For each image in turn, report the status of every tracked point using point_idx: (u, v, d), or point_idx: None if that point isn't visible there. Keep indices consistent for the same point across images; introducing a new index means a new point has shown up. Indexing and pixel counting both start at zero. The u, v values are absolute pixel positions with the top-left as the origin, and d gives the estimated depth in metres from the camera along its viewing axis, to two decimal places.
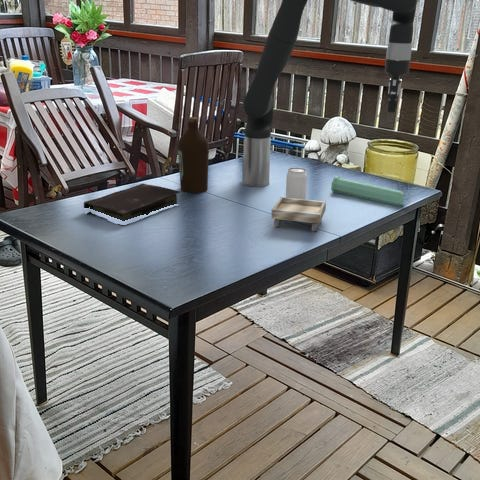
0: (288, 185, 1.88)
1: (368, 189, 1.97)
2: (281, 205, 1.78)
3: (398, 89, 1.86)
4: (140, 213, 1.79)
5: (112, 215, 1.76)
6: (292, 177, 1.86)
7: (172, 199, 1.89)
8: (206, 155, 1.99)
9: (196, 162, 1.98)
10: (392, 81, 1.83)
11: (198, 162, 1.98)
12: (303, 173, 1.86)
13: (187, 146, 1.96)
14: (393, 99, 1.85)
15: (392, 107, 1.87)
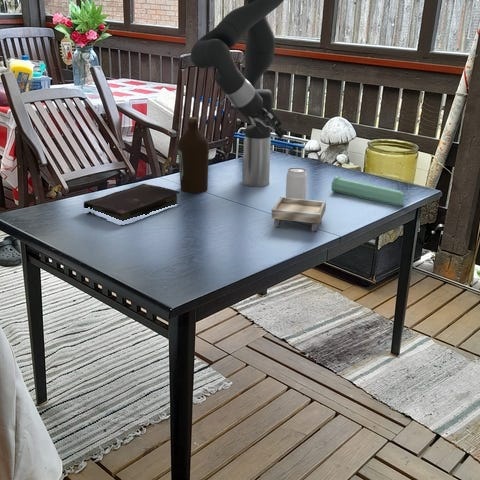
0: (288, 185, 1.88)
1: (368, 189, 1.97)
2: (281, 205, 1.78)
3: (251, 119, 1.76)
4: (139, 213, 1.79)
5: (111, 215, 1.76)
6: (292, 177, 1.86)
7: (172, 199, 1.89)
8: (206, 155, 1.99)
9: (196, 162, 1.98)
10: None
11: (198, 162, 1.98)
12: (303, 173, 1.86)
13: (187, 146, 1.96)
14: None
15: None
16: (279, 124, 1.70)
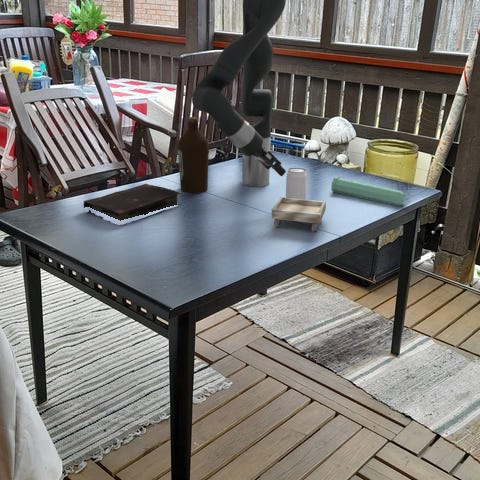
0: (288, 185, 1.88)
1: (368, 189, 1.97)
2: (281, 205, 1.78)
3: None
4: (138, 213, 1.79)
5: (110, 214, 1.77)
6: (292, 177, 1.86)
7: (172, 200, 1.88)
8: (206, 155, 1.99)
9: (196, 162, 1.98)
10: None
11: (198, 162, 1.98)
12: (303, 173, 1.86)
13: (187, 146, 1.96)
14: None
15: None
16: (278, 164, 1.76)
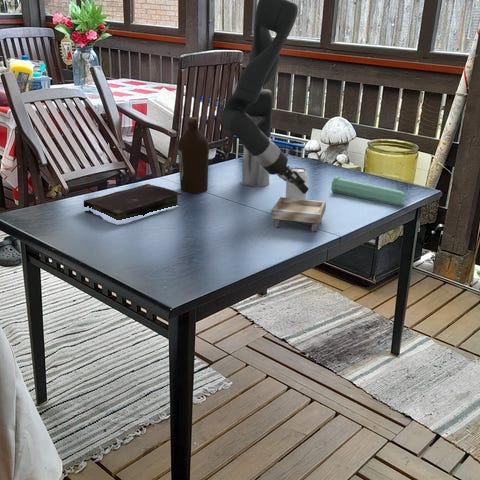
0: (288, 185, 1.88)
1: (368, 189, 1.97)
2: (281, 205, 1.78)
3: (279, 175, 1.90)
4: (137, 213, 1.79)
5: (108, 214, 1.77)
6: None
7: (172, 200, 1.88)
8: (206, 155, 1.99)
9: (196, 162, 1.98)
10: None
11: (198, 162, 1.98)
12: (303, 173, 1.86)
13: (187, 146, 1.96)
14: None
15: None
16: (302, 182, 1.83)
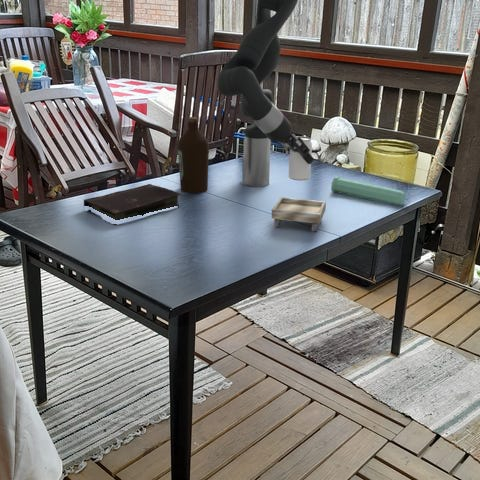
0: (292, 155, 1.74)
1: (369, 189, 1.97)
2: (281, 205, 1.78)
3: None
4: (135, 213, 1.78)
5: (107, 214, 1.77)
6: None
7: (172, 201, 1.87)
8: (206, 155, 1.99)
9: (196, 162, 1.98)
10: None
11: (198, 162, 1.98)
12: (308, 141, 1.72)
13: (187, 146, 1.96)
14: None
15: None
16: (307, 151, 1.69)
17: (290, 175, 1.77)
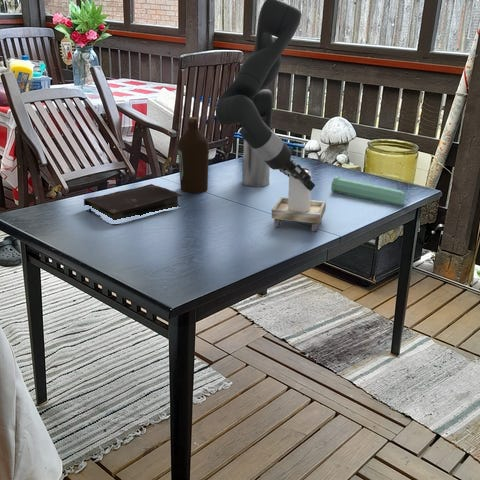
0: (291, 187, 1.71)
1: (369, 189, 1.97)
2: (281, 205, 1.78)
3: None
4: (134, 214, 1.78)
5: (105, 213, 1.77)
6: None
7: (172, 202, 1.87)
8: (206, 155, 1.99)
9: (196, 162, 1.98)
10: None
11: (198, 162, 1.98)
12: None
13: (187, 146, 1.96)
14: None
15: None
16: (308, 178, 1.64)
17: (290, 207, 1.73)
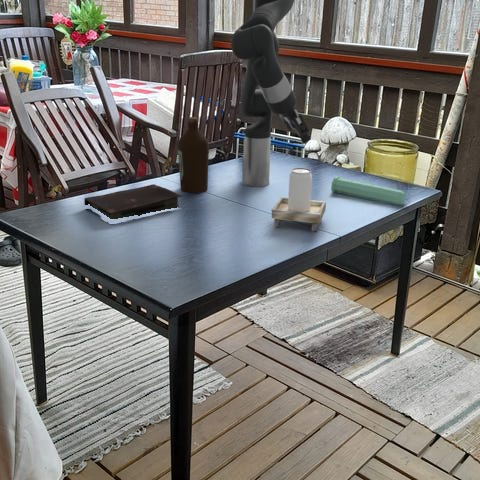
0: (291, 187, 1.71)
1: (369, 189, 1.97)
2: (281, 205, 1.78)
3: None
4: (132, 214, 1.78)
5: (104, 213, 1.78)
6: (296, 178, 1.69)
7: (172, 202, 1.86)
8: (206, 155, 1.99)
9: (196, 162, 1.98)
10: None
11: (198, 162, 1.98)
12: (308, 174, 1.69)
13: (187, 146, 1.96)
14: None
15: None
16: (305, 131, 1.61)
17: (290, 207, 1.73)
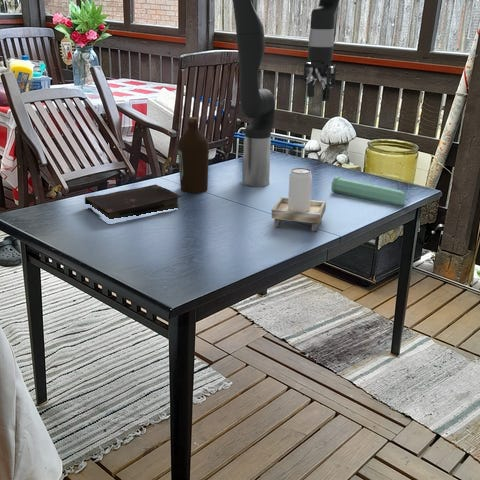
0: (291, 187, 1.71)
1: (369, 189, 1.97)
2: (281, 205, 1.78)
3: None
4: (131, 214, 1.78)
5: (103, 213, 1.78)
6: (296, 178, 1.69)
7: (172, 203, 1.86)
8: (206, 155, 1.99)
9: (196, 162, 1.98)
10: None
11: (198, 162, 1.98)
12: (308, 174, 1.69)
13: (187, 146, 1.96)
14: None
15: None
16: (332, 84, 1.78)
17: (290, 207, 1.73)
